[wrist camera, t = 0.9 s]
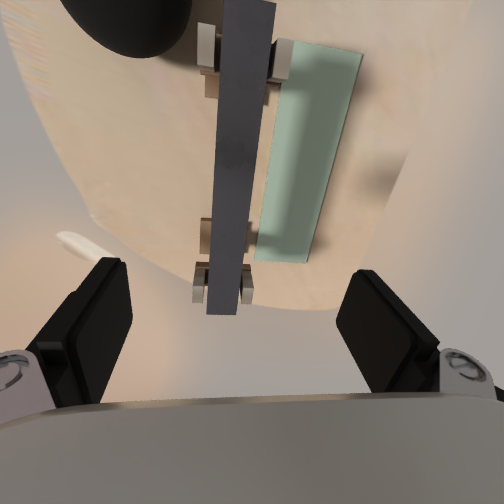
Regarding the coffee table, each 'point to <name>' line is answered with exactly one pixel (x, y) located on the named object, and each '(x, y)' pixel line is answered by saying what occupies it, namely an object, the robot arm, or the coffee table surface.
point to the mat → (304, 148)
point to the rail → (237, 142)
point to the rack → (211, 69)
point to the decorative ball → (132, 23)
